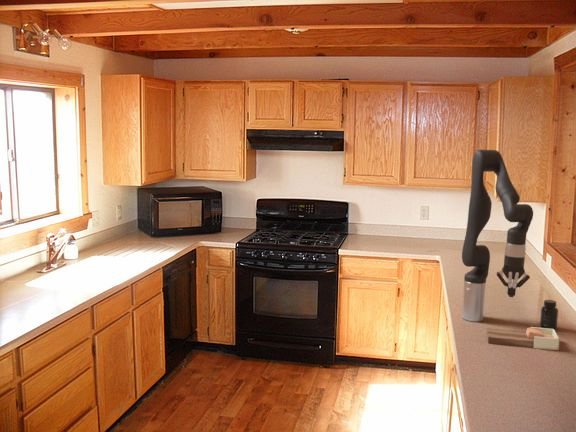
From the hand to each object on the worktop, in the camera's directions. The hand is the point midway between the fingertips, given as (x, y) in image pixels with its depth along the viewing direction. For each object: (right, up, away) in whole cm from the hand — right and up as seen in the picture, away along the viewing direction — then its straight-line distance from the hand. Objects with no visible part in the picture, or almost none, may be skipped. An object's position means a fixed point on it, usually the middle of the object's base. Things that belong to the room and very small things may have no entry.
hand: (510, 296), depth 247 cm
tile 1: (+9, -16, 0) cm, 19 cm away
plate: (0, -18, +3) cm, 18 cm away
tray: (+13, -19, 0) cm, 23 cm away
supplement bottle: (+23, -16, +19) cm, 34 cm away
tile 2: (+14, -18, 0) cm, 23 cm away
